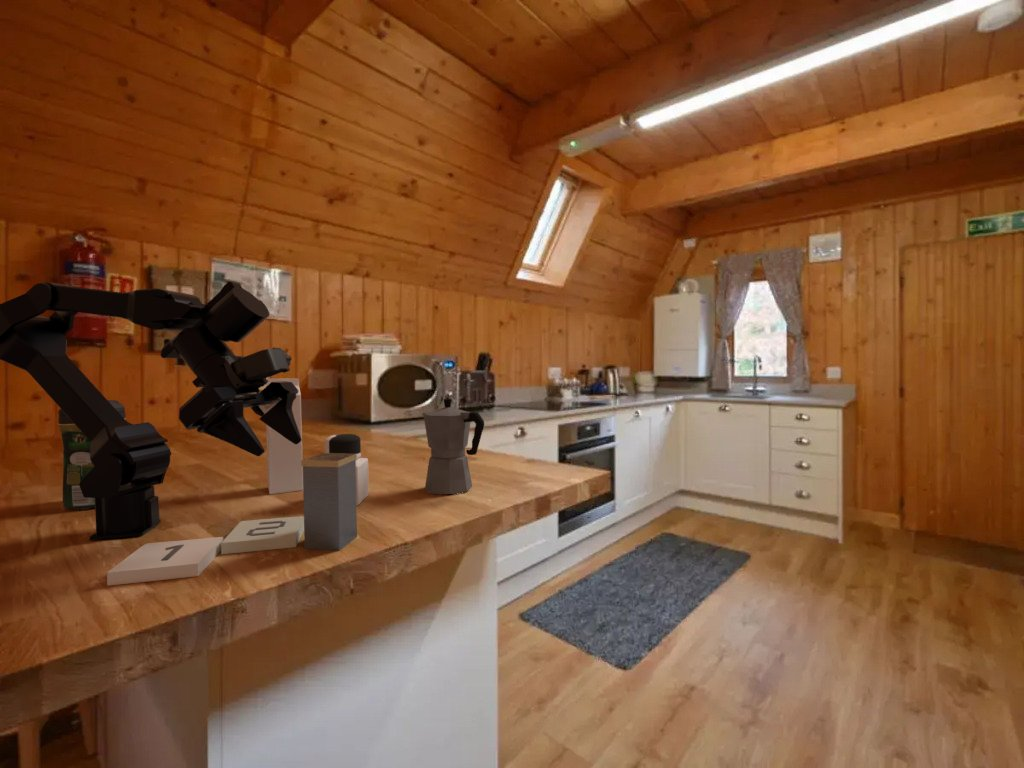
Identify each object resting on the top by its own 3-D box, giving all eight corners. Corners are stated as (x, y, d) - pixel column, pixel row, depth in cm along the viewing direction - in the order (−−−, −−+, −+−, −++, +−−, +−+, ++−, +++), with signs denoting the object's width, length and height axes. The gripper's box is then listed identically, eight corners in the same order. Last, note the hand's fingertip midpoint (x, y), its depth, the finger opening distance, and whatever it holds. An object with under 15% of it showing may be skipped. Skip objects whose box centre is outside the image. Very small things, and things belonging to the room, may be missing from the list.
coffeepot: (407, 489, 94) (405, 398, 93) (440, 479, 102) (439, 395, 101) (467, 502, 86) (466, 401, 85) (499, 490, 93) (498, 398, 92)
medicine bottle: (369, 495, 90) (368, 431, 90) (358, 506, 83) (357, 437, 83) (331, 495, 90) (329, 432, 90) (316, 507, 83) (315, 438, 83)
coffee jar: (90, 496, 90) (85, 398, 90) (137, 494, 92) (133, 397, 91) (51, 512, 81) (46, 402, 80) (105, 509, 82) (100, 401, 82)
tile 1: (107, 585, 54) (106, 571, 54) (146, 554, 62) (145, 542, 62) (198, 576, 56) (197, 562, 56) (223, 547, 65) (222, 536, 65)
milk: (267, 488, 96) (264, 378, 96) (300, 483, 99) (297, 377, 99) (269, 494, 91) (265, 378, 90) (304, 490, 94) (300, 378, 93)
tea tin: (303, 549, 64) (301, 460, 64) (324, 535, 69) (322, 452, 69) (339, 550, 63) (338, 461, 63) (358, 536, 69) (356, 453, 68)
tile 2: (221, 554, 62) (221, 542, 62) (241, 531, 71) (241, 520, 71) (296, 547, 65) (295, 535, 65) (306, 525, 73) (306, 515, 73)
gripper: (206, 321, 59) (285, 420, 58) (291, 331, 77) (351, 406, 77) (143, 379, 60) (220, 476, 59) (241, 375, 78) (301, 449, 78)
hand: (281, 447), depth 68 cm, fingers open, 9 cm apart
